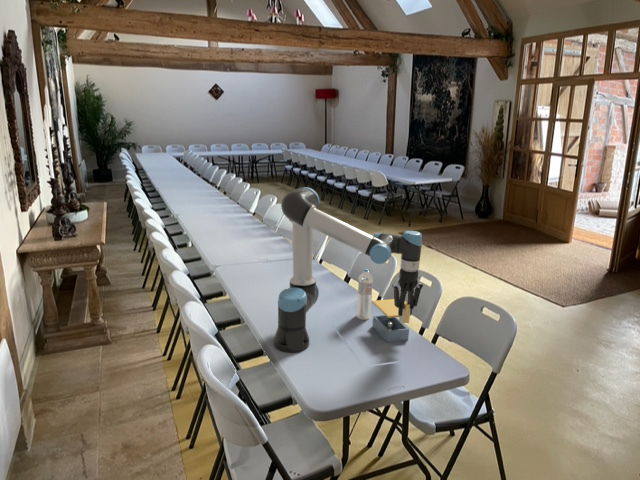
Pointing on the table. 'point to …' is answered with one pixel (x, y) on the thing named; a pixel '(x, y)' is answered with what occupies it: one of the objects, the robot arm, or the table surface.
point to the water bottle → (364, 296)
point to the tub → (396, 334)
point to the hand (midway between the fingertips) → (403, 322)
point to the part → (390, 325)
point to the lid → (392, 308)
